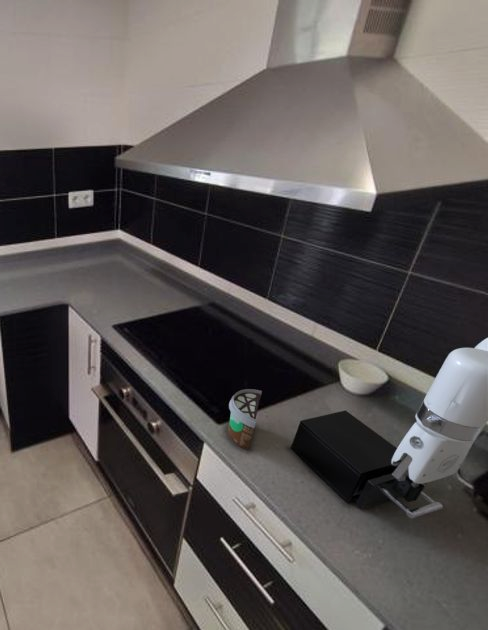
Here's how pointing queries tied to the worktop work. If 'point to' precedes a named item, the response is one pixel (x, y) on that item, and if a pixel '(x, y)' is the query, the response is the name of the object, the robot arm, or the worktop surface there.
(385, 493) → the drawer
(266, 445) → the worktop surface
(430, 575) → the worktop surface
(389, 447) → the mini drawer cabinet
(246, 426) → the food container
